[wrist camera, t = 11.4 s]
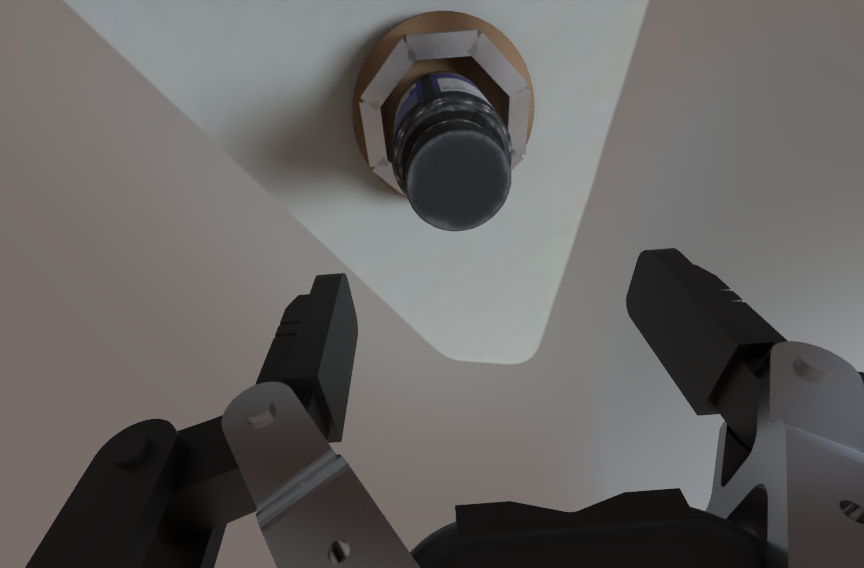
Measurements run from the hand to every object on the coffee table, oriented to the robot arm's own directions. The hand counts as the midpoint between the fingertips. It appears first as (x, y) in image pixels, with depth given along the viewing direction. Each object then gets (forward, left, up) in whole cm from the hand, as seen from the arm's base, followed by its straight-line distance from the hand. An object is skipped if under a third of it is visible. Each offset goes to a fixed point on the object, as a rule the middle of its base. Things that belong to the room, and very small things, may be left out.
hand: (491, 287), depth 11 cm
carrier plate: (0, 0, -20) cm, 20 cm away
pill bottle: (0, 0, -19) cm, 19 cm away
